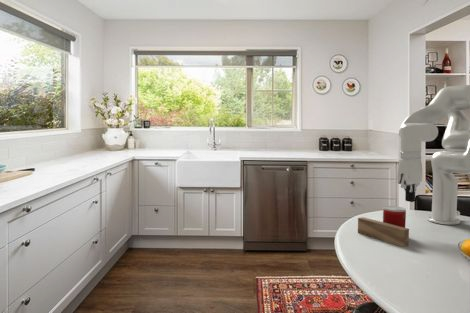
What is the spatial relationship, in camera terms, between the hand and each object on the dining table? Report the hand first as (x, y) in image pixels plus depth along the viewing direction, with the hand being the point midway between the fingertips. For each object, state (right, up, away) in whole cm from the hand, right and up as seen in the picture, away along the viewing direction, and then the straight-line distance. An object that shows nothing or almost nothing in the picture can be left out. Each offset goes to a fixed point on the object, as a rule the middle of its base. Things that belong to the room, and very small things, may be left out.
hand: (410, 201), depth 145 cm
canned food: (-8, -13, -4) cm, 16 cm away
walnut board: (-15, -13, -8) cm, 21 cm away
